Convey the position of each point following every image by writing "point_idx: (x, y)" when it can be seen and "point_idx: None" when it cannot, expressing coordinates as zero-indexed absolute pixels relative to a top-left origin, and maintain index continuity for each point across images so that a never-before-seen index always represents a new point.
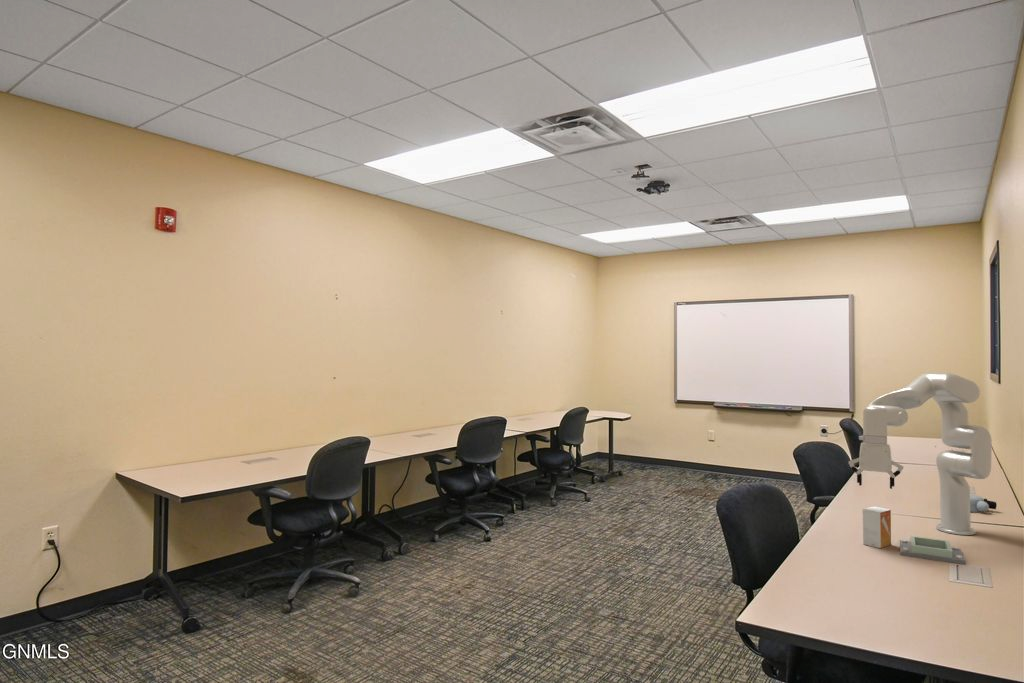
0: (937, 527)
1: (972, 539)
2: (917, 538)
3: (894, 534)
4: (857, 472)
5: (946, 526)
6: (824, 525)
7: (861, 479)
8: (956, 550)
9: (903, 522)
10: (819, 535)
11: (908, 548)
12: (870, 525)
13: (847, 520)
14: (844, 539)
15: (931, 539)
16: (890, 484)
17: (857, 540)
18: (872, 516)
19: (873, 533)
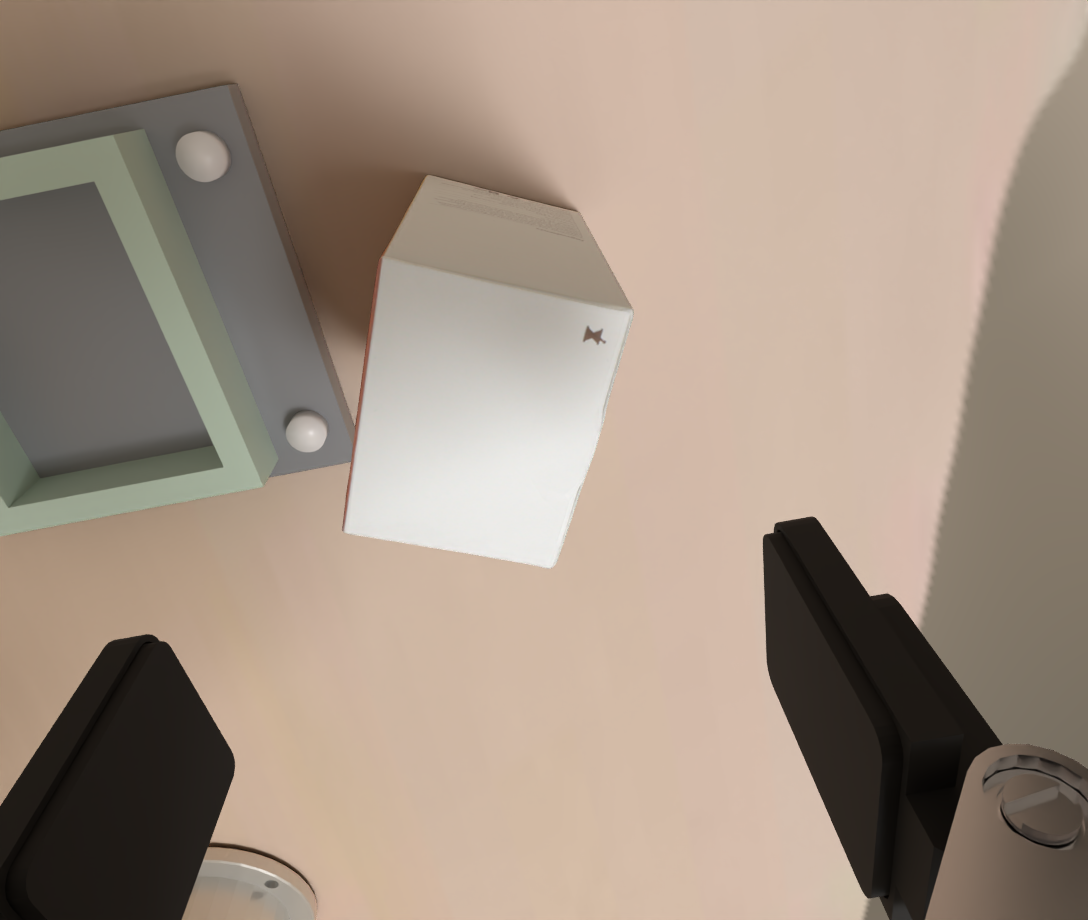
0: (295, 883)
1: None
2: (204, 466)
3: (458, 642)
4: (1071, 817)
5: (237, 895)
6: (906, 550)
7: (816, 687)
8: None
9: (485, 888)
10: (941, 230)
11: (216, 250)
12: (520, 235)
13: (770, 749)
14: (738, 256)
15: (103, 489)
16: (97, 711)
17: (640, 304)
18: (496, 257)
19: (488, 211)
